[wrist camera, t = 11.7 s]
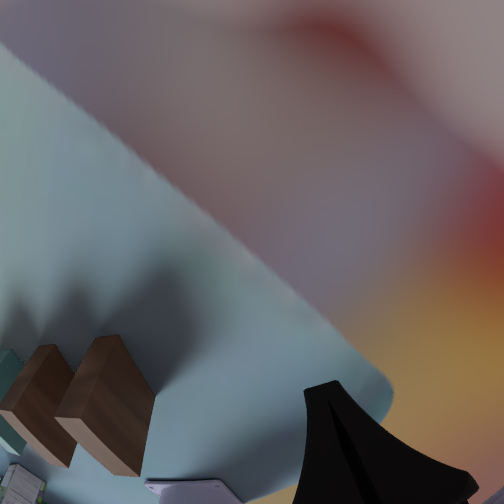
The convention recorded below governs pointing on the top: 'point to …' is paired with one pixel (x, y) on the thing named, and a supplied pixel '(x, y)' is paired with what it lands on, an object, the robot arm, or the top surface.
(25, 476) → the syrup box
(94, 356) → the tile
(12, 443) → the teal tile
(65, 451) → the tile
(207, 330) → the top surface
